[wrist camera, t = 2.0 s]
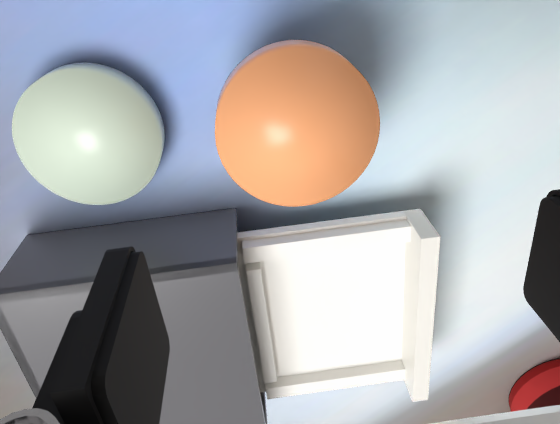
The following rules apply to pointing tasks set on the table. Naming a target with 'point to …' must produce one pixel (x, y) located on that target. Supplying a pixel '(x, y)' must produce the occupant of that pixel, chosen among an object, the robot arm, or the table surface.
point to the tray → (341, 302)
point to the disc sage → (89, 133)
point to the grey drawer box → (172, 300)
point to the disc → (296, 123)
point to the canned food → (537, 388)
